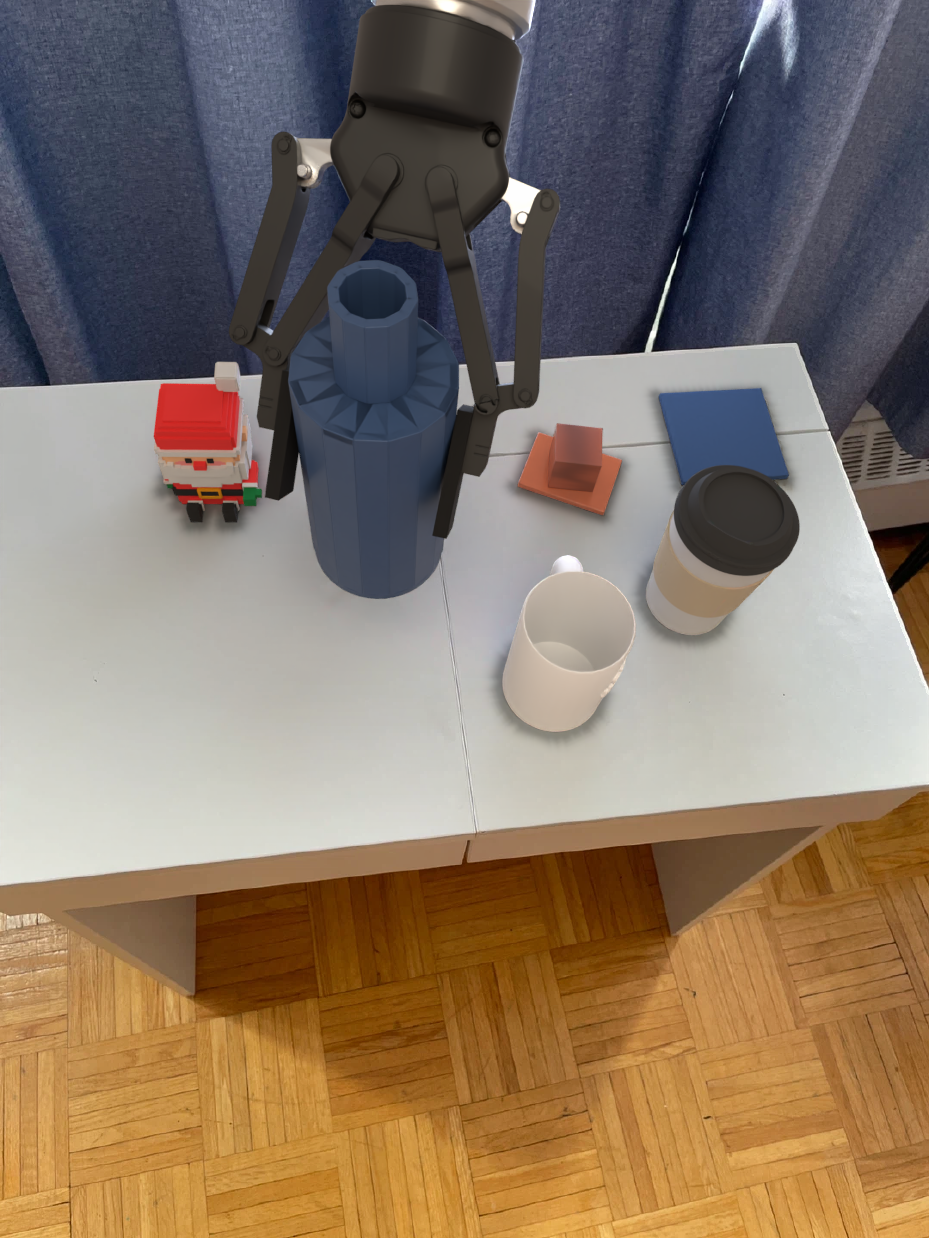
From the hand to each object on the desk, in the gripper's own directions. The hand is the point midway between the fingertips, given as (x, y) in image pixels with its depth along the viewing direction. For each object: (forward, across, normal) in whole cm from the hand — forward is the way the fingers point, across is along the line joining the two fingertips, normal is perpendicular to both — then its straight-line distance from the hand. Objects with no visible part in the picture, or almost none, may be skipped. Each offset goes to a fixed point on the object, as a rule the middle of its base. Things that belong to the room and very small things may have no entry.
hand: (360, 512), depth 49 cm
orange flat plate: (+2, -12, -36) cm, 38 cm away
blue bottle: (+4, 0, -8) cm, 9 cm away
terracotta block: (+1, -12, -36) cm, 38 cm away
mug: (+15, -14, -23) cm, 31 cm away
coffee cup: (+9, -24, -30) cm, 39 cm away
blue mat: (-4, -25, -42) cm, 49 cm away
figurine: (+8, +18, -30) cm, 35 cm away
